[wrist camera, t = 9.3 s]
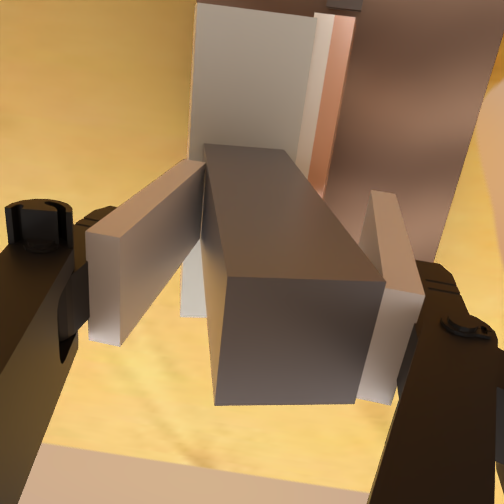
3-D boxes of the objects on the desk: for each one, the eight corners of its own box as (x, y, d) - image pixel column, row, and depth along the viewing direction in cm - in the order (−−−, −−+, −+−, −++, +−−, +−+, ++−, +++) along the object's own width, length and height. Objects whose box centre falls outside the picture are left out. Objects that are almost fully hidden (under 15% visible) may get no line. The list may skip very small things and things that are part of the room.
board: (208, -60, 25) (188, -73, 22) (513, -29, 23) (537, -39, 20) (189, 254, 32) (172, 275, 29) (416, 297, 30) (422, 325, 27)
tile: (314, 12, 16) (355, 17, 16) (326, 19, 23) (356, 22, 22) (270, 309, 22) (300, 315, 21) (290, 248, 28) (314, 252, 28)
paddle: (194, 4, 18) (220, -16, 6) (297, 17, 19) (486, 19, 7) (180, 282, 23) (179, 547, 12) (261, 284, 24) (337, 538, 12)
